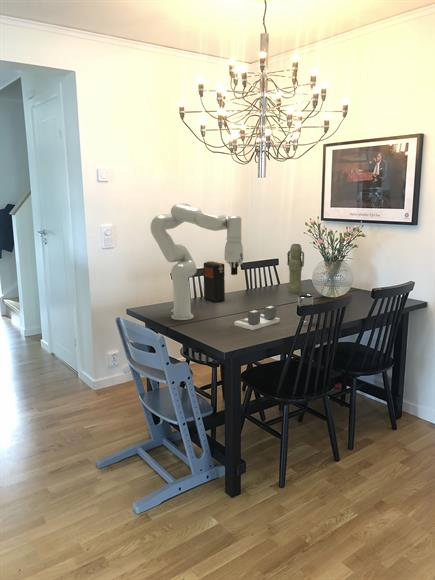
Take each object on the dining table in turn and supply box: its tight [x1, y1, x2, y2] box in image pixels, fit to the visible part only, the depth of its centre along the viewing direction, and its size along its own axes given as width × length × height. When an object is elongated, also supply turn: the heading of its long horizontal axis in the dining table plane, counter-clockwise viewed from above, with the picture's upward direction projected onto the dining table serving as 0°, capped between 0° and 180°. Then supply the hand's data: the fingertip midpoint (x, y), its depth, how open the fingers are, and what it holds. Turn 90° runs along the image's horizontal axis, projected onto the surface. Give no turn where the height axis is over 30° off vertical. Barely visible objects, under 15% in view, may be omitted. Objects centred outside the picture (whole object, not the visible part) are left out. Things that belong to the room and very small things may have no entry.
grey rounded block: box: [247, 309, 261, 324], centre depth 243 cm, size 4×5×6 cm
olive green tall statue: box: [286, 243, 305, 296], centre depth 317 cm, size 9×12×35 cm
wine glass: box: [297, 294, 314, 324], centre depth 250 cm, size 8×8×15 cm
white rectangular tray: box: [233, 313, 281, 331], centre depth 251 cm, size 13×22×2 cm, turn 133°
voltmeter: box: [203, 260, 226, 303], centre depth 305 cm, size 16×9×25 cm, turn 34°
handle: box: [263, 305, 277, 320], centre depth 252 cm, size 4×5×6 cm
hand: (234, 274), depth 246 cm, fingers closed
